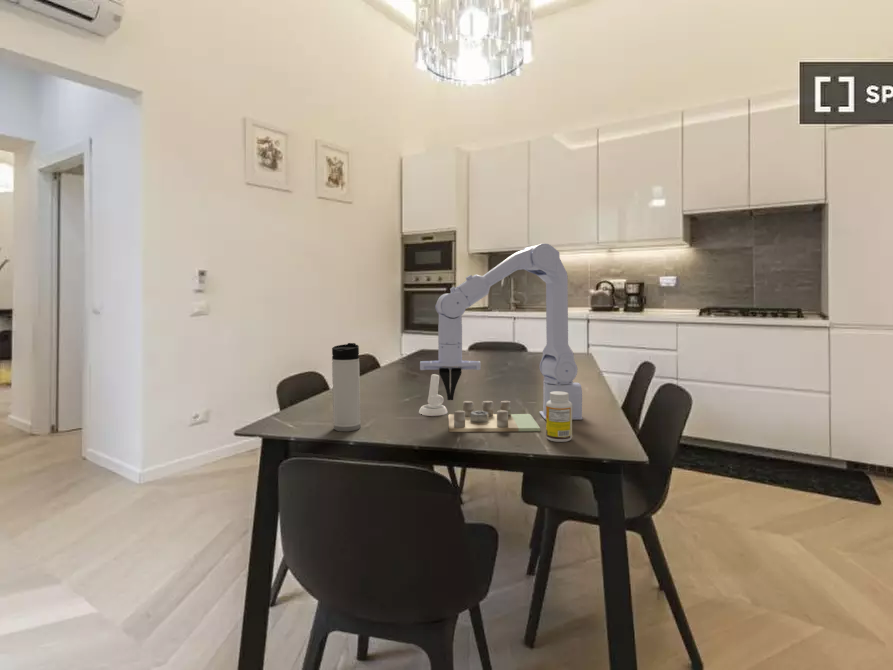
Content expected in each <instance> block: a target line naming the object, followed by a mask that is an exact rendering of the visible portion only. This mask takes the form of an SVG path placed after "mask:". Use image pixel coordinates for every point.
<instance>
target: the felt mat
mask: <svg viewBox="0 0 893 670" xmlns="http://www.w3.org/2000/svg"><path fill="white" fill-rule="evenodd" d="M511 415H512V417H513V419H514V421H515V422H516V424H517V426H518V428H519V431H518V432H541V427H540V426H539V424H538V423H537V421H536V420H535V419H534V417H533V415H531V413H511Z"/></svg>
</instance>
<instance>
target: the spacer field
mask: <svg viewBox="0 0 893 670" xmlns="http://www.w3.org/2000/svg"><path fill="white" fill-rule="evenodd" d="M472 411H474V401H471V400H463V402H462V410H454V411H453V413H449V414H448V413H447V414H448V416H447V417H448V432H449V433H465V432H466V433H468V432H469V433H472V432H473V433H475V432H476V433H477V432H479V433H481V432H482V433H484V432H486V433H490V432H491V433H493V432H520V431H519V428H518V426H517V424H516V422H515V421H514V419H513V417H512V415H511V414H512V401H510V400H501V401H500V409H499V410H497V411H496V413H494V401H492V400H483V401H482V411H485V412H488V421H487V422H486V423H475V422H470V413H471V412H472Z"/></svg>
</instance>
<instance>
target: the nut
mask: <svg viewBox="0 0 893 670" xmlns="http://www.w3.org/2000/svg"><path fill="white" fill-rule="evenodd" d="M487 421H488V412H485V411H483V410H473V411H472V412H471V413H470V422H475V423H486V422H487Z"/></svg>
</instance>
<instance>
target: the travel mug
mask: <svg viewBox="0 0 893 670" xmlns="http://www.w3.org/2000/svg"><path fill="white" fill-rule="evenodd" d="M359 353H360V345H358V344H356V343H355V342H352V343H351V342H347V343H345V344H339V345H335V346H333V347H332V348H331V356H332V357H331V361H332V363H331V367H332V368H331V371H332V372H331V373H332V409H333V411H332V412H333V414H332V415H333V429H334V430H335V431H336V432H343V433H344V432H346V433H347V432H354V431H355V432H356V431H358V430H359V429H361V391H360V390H361V389H360V388H361V387H360V384H361V383H360V379H361V378H360V354H359Z"/></svg>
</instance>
